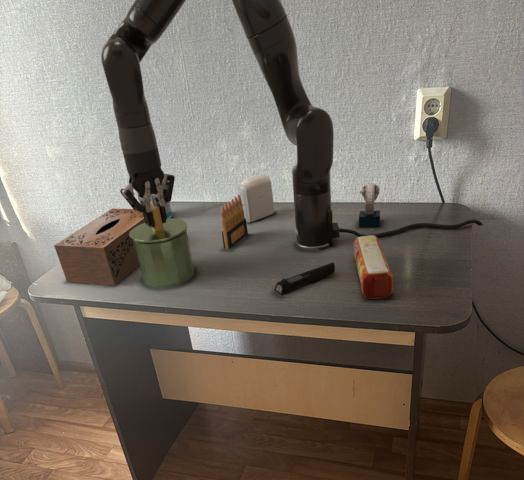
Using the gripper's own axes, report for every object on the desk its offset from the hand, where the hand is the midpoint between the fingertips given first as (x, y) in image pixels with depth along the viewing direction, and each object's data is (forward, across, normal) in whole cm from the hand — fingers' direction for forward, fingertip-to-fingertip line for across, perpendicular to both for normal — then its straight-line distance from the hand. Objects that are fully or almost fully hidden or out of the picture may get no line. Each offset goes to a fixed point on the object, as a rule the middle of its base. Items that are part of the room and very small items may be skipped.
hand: (157, 224), depth 119 cm
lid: (+2, 0, 0) cm, 2 cm away
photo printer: (+14, +41, +10) cm, 44 cm away
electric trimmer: (+14, +16, -31) cm, 37 cm away
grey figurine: (+14, +53, -22) cm, 59 cm away
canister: (+14, 0, 0) cm, 14 cm away
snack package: (+14, +27, -41) cm, 51 cm away
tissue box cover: (+14, -2, +20) cm, 25 cm away
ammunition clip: (+14, +24, +1) cm, 28 cm away
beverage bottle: (+14, +24, +38) cm, 47 cm away
